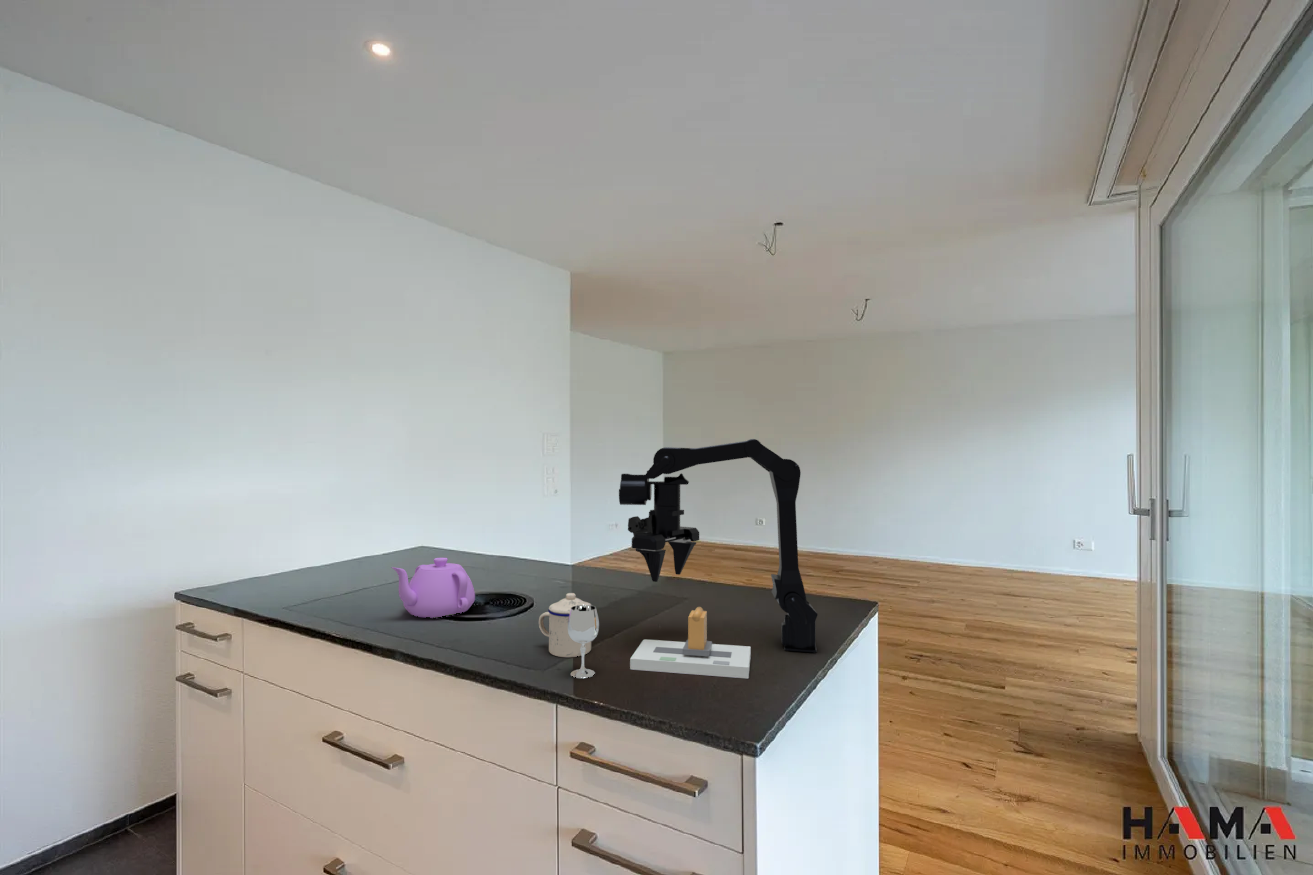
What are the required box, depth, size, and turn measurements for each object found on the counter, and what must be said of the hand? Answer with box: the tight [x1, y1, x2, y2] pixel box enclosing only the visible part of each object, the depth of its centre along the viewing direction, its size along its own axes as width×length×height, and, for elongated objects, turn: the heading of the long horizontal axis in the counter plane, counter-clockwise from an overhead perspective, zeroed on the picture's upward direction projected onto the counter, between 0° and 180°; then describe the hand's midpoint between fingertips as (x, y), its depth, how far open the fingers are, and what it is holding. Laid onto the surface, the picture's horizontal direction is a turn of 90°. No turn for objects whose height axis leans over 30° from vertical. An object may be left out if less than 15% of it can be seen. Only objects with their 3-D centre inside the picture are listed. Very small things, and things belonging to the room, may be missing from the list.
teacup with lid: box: [538, 592, 592, 658], centre depth 121 cm, size 12×9×12 cm
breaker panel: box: [629, 639, 752, 679], centre depth 114 cm, size 22×12×2 cm, turn 79°
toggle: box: [683, 606, 713, 656], centre depth 114 cm, size 5×6×8 cm
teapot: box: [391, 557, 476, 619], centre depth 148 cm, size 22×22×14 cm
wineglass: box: [568, 604, 600, 679], centre depth 108 cm, size 6×6×12 cm
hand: (666, 577), depth 126 cm, fingers open, 9 cm apart
